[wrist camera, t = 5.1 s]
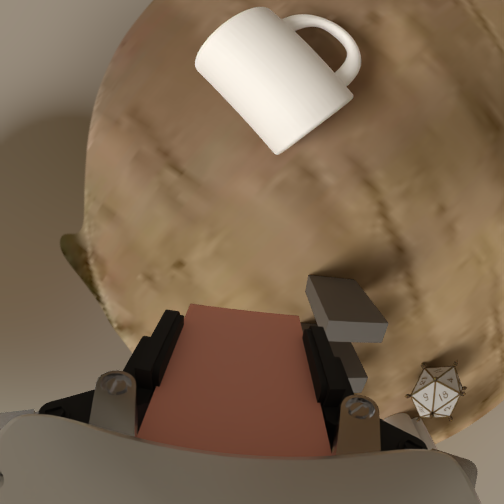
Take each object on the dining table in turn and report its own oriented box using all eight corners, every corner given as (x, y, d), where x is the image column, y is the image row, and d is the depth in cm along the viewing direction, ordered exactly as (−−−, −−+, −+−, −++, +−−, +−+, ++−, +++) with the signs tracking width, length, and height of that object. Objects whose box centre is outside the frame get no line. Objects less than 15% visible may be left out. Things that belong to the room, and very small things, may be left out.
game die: (419, 349, 37) (472, 344, 27) (437, 389, 36) (487, 391, 26) (382, 390, 33) (437, 396, 24) (403, 430, 32) (454, 441, 23)
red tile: (298, 315, 14) (340, 492, 5) (291, 346, 14) (318, 517, 5) (190, 303, 13) (122, 473, 5) (189, 335, 14) (136, 500, 5)
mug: (273, 157, 26) (281, 154, 18) (202, 80, 24) (183, 51, 16) (367, 85, 24) (404, 63, 16) (299, 13, 21) (312, -29, 14)
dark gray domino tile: (342, 325, 31) (367, 377, 22) (338, 339, 31) (361, 392, 23) (298, 322, 31) (312, 377, 22) (295, 336, 31) (307, 393, 23)
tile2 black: (354, 279, 29) (388, 323, 21) (350, 295, 30) (381, 342, 21) (308, 275, 29) (328, 320, 21) (305, 291, 30) (323, 341, 21)
